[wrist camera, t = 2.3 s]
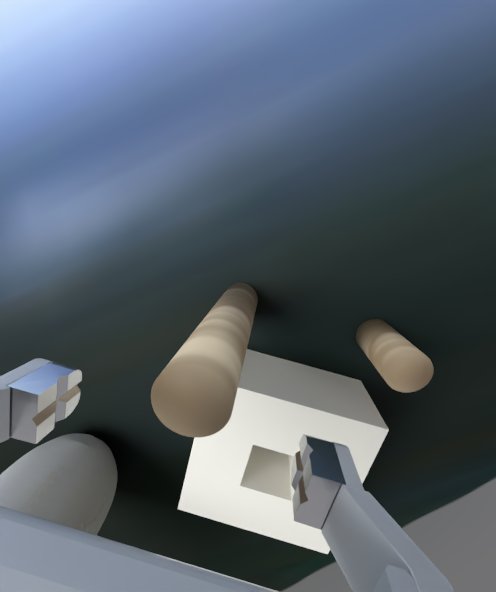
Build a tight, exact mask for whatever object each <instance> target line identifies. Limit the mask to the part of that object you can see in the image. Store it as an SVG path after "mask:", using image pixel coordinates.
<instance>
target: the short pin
mask: <svg viewBox="0 0 496 592" xmlns="http://www.w3.org/2000/svg"><path fill="white" fill-rule="evenodd" d="M356 341H357V343H358V345H359V346H360V347H361V349H362V350H363V351H364V353H365V354H366V355H367V357H368V358H369V360H370V361H371V362H372V364H373V365H374V366H375V368H376V369H377V370H378V372H379V373H380V375H381V376H382V377H383V379H384V380H385V381H386V383H387V384H388V385H389V386H390V387H391V388H392V389H394V390H396V391H399V392H414V391H417V390H419V389H421V388H423V387H424V386H426V385H427V384H428V383H429V381H430V380H431V378H432V376H433V371H434V370H433V364H432V362H431V360H430V359H429V358H428V357H427V356H426V355H425V354H424V353H422V352H421V351H420V350H419V349H418V348H416V347H415V346H414V345H413V344H411V343H410V342H409V341H408V340H407V339H405V338H404V337H403V336H402V335H401V334H399V333H398V332H397V331H396V330H395V329H393V328H392V327H391V326H390V325H388V324H387V323H386V322H385V321H383V320H380V319H370V320H367V321H365V322H363V323H362V324H361V325H360V326H359V327H358V329H357V331H356Z"/></svg>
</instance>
